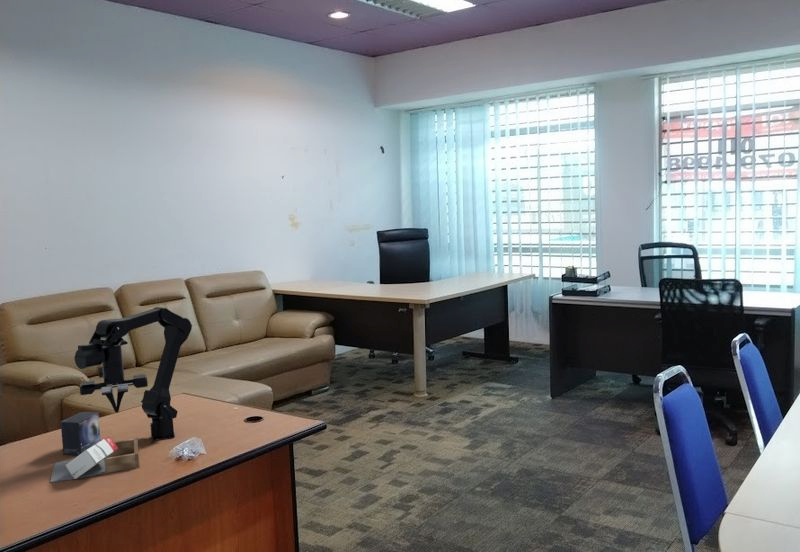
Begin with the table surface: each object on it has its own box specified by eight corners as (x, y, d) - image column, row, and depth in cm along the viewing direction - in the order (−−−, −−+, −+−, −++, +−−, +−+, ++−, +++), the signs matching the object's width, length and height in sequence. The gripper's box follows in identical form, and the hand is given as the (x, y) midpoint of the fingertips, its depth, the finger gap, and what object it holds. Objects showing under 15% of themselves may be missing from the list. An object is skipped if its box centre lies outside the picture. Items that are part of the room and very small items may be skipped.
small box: (81, 455, 216) (77, 422, 214) (62, 455, 217) (58, 421, 216) (102, 443, 226) (99, 411, 225) (84, 443, 227) (81, 411, 226)
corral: (138, 450, 217) (137, 438, 217) (139, 467, 203) (138, 453, 203) (106, 456, 214) (105, 443, 214) (105, 473, 200) (104, 459, 200)
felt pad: (106, 455, 215) (106, 454, 215) (105, 473, 200) (105, 472, 200) (55, 463, 210) (55, 462, 210) (50, 483, 195) (50, 482, 195)
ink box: (109, 434, 206) (86, 449, 194) (119, 448, 206) (97, 463, 194) (87, 450, 207) (63, 465, 196) (97, 464, 207) (74, 480, 196)
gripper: (144, 352, 225) (148, 401, 226) (79, 360, 218) (84, 409, 220) (145, 359, 214) (149, 410, 216) (77, 367, 208) (82, 419, 209)
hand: (116, 412), depth 216 cm, fingers closed
